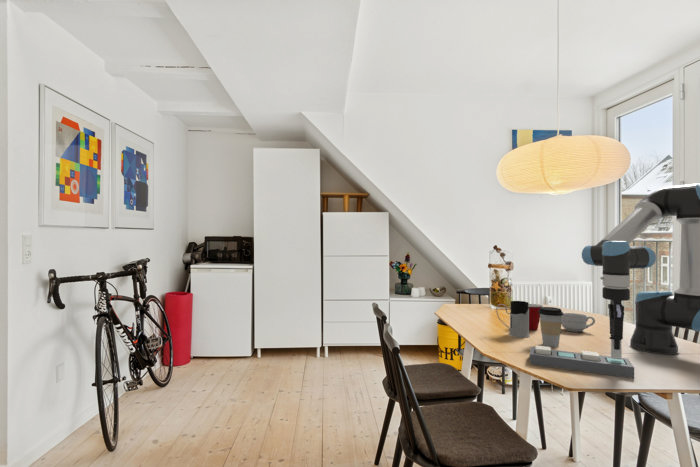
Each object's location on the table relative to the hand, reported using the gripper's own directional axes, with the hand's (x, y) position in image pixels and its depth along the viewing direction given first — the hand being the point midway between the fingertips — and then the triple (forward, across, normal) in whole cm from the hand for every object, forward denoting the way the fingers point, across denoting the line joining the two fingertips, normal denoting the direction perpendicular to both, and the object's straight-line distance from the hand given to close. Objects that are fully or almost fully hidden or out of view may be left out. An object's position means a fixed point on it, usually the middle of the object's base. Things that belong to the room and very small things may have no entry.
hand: (616, 358), depth 130 cm
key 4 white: (+2, 0, -22) cm, 22 cm away
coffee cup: (+5, -26, -19) cm, 32 cm away
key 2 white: (+2, 0, -7) cm, 8 cm away
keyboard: (+4, 0, -11) cm, 12 cm away
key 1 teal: (+3, 0, 0) cm, 3 cm away
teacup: (+5, -59, -7) cm, 59 cm away
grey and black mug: (+5, -37, -34) cm, 50 cm away
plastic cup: (+5, -54, -27) cm, 60 cm away
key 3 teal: (+3, 0, -15) cm, 15 cm away
